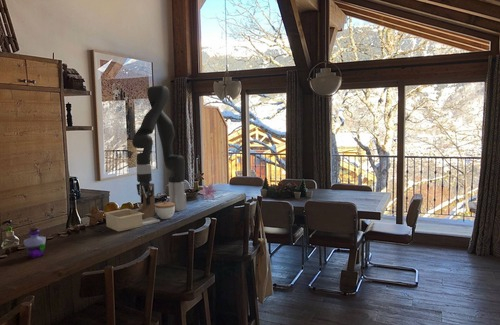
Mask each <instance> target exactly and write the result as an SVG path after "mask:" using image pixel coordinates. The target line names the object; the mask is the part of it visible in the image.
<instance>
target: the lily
mask: <svg viewBox="0 0 500 325" xmlns="http://www.w3.org/2000/svg"><path fill="white" fill-rule="evenodd" d="M213 188H214V185H213V183H212V182H211V183H210V184H209V185H207V186H206V185H203V184H202V189H200V190H199V191H197V193H198V194H201V195H203V200H206V199H207V198H210V199H212V200H215V195H214V194H215V193H217V192H218V190H216V189H213Z"/></svg>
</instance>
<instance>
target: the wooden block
mask: <svg viewBox="0 0 500 325" xmlns="http://www.w3.org/2000/svg"><path fill="white" fill-rule="evenodd" d="M150 186H153V196H152V197H150V205H146V196H145V194H144V191H143V204H142V206H141V208H140V209H138V210H136V211H137V212H141V213H144V214H143V215H142V219H143V220H144V219H147V218H150V217H152V218H154V217H155V216H156V207H155V205H156V203H155V183H152V182H150ZM147 192H148V191H147ZM150 195H151V193H150Z"/></svg>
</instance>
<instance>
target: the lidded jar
mask: <svg viewBox="0 0 500 325" xmlns="http://www.w3.org/2000/svg"><path fill="white" fill-rule="evenodd" d="M175 212H176V211H175V203H172V202H169V201H166V200H164V201H163V202H158V203H155V214H156V215H157V217H158V218H159V219H160V220H169V219H171V218H172V217H173V216H174V214H175Z"/></svg>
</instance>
